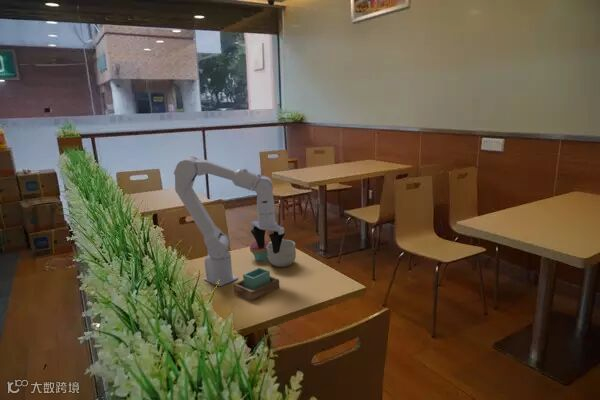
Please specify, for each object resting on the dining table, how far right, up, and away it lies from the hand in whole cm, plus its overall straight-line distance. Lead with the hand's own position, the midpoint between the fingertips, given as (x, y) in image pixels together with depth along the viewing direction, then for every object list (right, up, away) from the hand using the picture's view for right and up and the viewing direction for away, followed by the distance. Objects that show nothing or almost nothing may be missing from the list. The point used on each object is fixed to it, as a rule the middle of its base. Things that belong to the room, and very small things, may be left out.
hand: (268, 250), depth 140 cm
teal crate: (-3, -12, -7) cm, 14 cm away
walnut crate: (-3, -12, -7) cm, 15 cm away
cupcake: (-4, -6, +20) cm, 21 cm away
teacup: (+4, -7, +15) cm, 17 cm away
